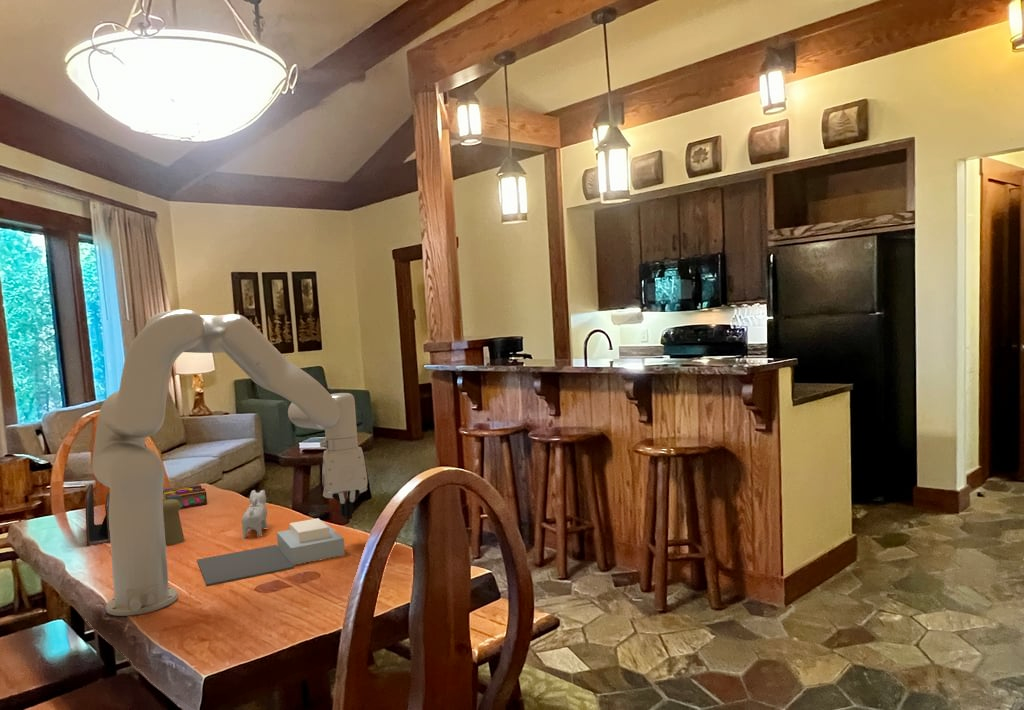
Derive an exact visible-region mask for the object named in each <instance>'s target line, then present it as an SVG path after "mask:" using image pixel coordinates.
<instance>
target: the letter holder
mask: <svg viewBox="0 0 1024 710" xmlns="http://www.w3.org/2000/svg"><path fill="white" fill-rule="evenodd" d="M85 493H86V494H85V499H84V500H85V501H84V502H85V504H84V505H85V532H86V534H85V535H86V546H87V547H91V546H90V545H94V546H98V545H97V544H100V545H104V544H103V543H106V544H111V543H110V530H109V499H110V491H108V492H107V494H106V499H105V505H104V506H105V507H104V508H105V516H104V518H103V520H102V523H101V524H96V523H95V505H94V503H95V501H94V500H95V499H94V498H95V497H94V484H93V483H90V484H88V486H87V490H86V492H85Z"/></svg>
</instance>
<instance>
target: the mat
mask: <svg viewBox="0 0 1024 710" xmlns="http://www.w3.org/2000/svg"><path fill="white" fill-rule="evenodd" d="M196 561H197V565H198V568H199V570H200V572H201V575H202V578H203V580H204V583H205V586H206V587H210V586H213V585H214V586H215V585H219V584H224V583H229V582H233V581H239V580H243V579H247V578H248V579H249V578H252V577H257V576H262V575H268V573H269V574H272V573H273V574H274V573H278V572H282V570H283V571H287V570H286V569H288V570H292V569H291V568H293V569H295V565H294V566H293V565H292V563H291V562H290V561H289V560H288V559H287V557H286V556H285V555H284V554H283V552H282V551H281V550H280V549H279V548H278V544H273V545H268V546H262V547H257V548H252V549H246V550H240V551H236V552H230V553H225V554H219V555H215V556H209V557H208V556H207V557H204V558H198V559H196ZM277 571H278V572H277Z"/></svg>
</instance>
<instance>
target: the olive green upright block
mask: <svg viewBox="0 0 1024 710" xmlns="http://www.w3.org/2000/svg"><path fill="white" fill-rule="evenodd" d="M180 510H181V509H180V502H179V501H178V500H176V499H169V500H165V501H163V516H164V528H165V542H166V547H167V546H174V545H178V544H181V543H184V542H185V536H184V531H183V527H182V522H181V517H180V513H179V511H180Z"/></svg>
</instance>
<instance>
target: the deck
mask: <svg viewBox="0 0 1024 710" xmlns="http://www.w3.org/2000/svg"><path fill="white" fill-rule="evenodd" d="M324 523H325V524H326V525H327V526H328V527H329V535H330V537H328V538H323V539H318V540H312V541H307V542H302V543H299V542H298V541H297V540H296V539H295V538H294V537H293V536H292V535H291V534H290V529H287V530H282V531H276V539H277V541H276V542H277V546H278V548H279V549H280V550H281V551H282V552H283V554H284V555H285V556H286V557H287V559H288V560H289V561H290V562H291V563H292V565H294V566H297V565H296V564H299V565H302V564H301V563H304V564H307V563H306V562H309V563H311V562H310V561H314V562H316V561H315V560H318V561H321V560H320V559H323V560H327V559H326V558H328V559H331V557H333V558H338V557H342V556H345V555H346V554H345V539H344V537H343V536H342V535H341V534H340V533H338V532H337V531H336V530H335V529H333V528H332V527H331V526H329V524H327V523H326V522H324ZM337 556H338V557H337Z"/></svg>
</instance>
